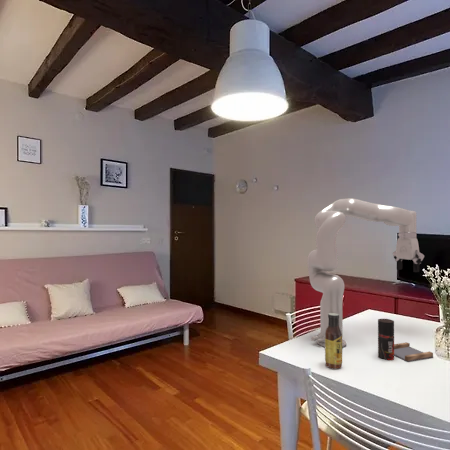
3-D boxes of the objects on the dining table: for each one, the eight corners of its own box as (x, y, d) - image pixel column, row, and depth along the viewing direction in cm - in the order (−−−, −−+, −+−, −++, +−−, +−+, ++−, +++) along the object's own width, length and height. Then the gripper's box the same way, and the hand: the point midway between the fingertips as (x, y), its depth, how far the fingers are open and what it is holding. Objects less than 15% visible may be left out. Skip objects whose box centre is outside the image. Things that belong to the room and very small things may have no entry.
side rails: (407, 362, 135) (407, 357, 135) (383, 350, 148) (382, 345, 148) (433, 357, 139) (433, 352, 139) (406, 346, 152) (406, 342, 152)
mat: (407, 362, 135) (407, 360, 135) (383, 350, 148) (383, 349, 148) (433, 357, 139) (433, 356, 139) (406, 346, 152) (406, 345, 152)
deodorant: (387, 361, 136) (387, 323, 136) (374, 356, 141) (374, 319, 141) (397, 358, 139) (397, 321, 139) (384, 353, 144) (384, 317, 144)
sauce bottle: (340, 371, 128) (339, 317, 128) (323, 367, 131) (322, 315, 131) (344, 364, 133) (343, 313, 133) (327, 361, 137) (327, 311, 136)
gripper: (387, 235, 176) (387, 269, 176) (417, 236, 160) (417, 273, 160) (398, 235, 179) (398, 268, 179) (429, 236, 163) (429, 272, 163)
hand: (407, 270), depth 170 cm, fingers open, 9 cm apart
